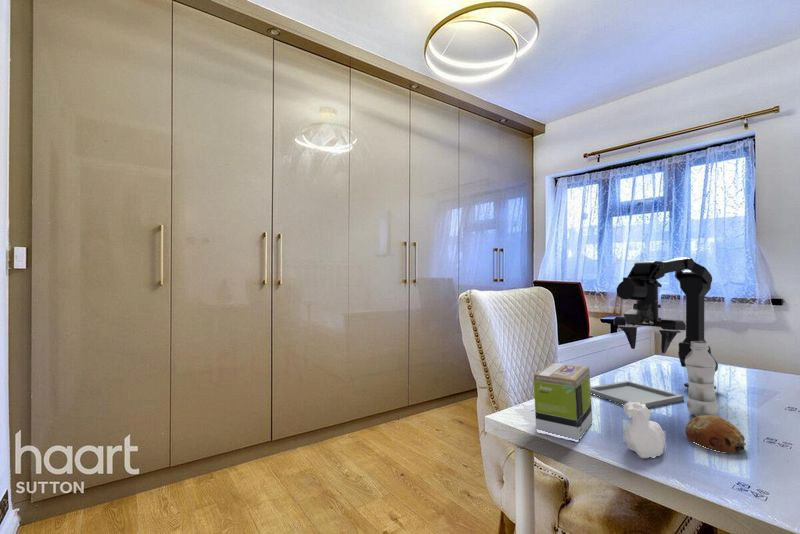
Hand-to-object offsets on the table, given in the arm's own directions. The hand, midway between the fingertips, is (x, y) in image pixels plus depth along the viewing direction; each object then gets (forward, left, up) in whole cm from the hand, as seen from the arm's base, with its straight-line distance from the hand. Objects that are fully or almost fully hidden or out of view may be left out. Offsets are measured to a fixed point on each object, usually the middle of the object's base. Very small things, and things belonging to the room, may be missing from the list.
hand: (647, 351), depth 113 cm
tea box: (+41, +7, -15) cm, 44 cm away
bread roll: (+17, +27, -15) cm, 35 cm away
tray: (+3, -3, -15) cm, 15 cm away
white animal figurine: (+35, +23, -15) cm, 44 cm away
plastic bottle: (+2, +16, -15) cm, 22 cm away
